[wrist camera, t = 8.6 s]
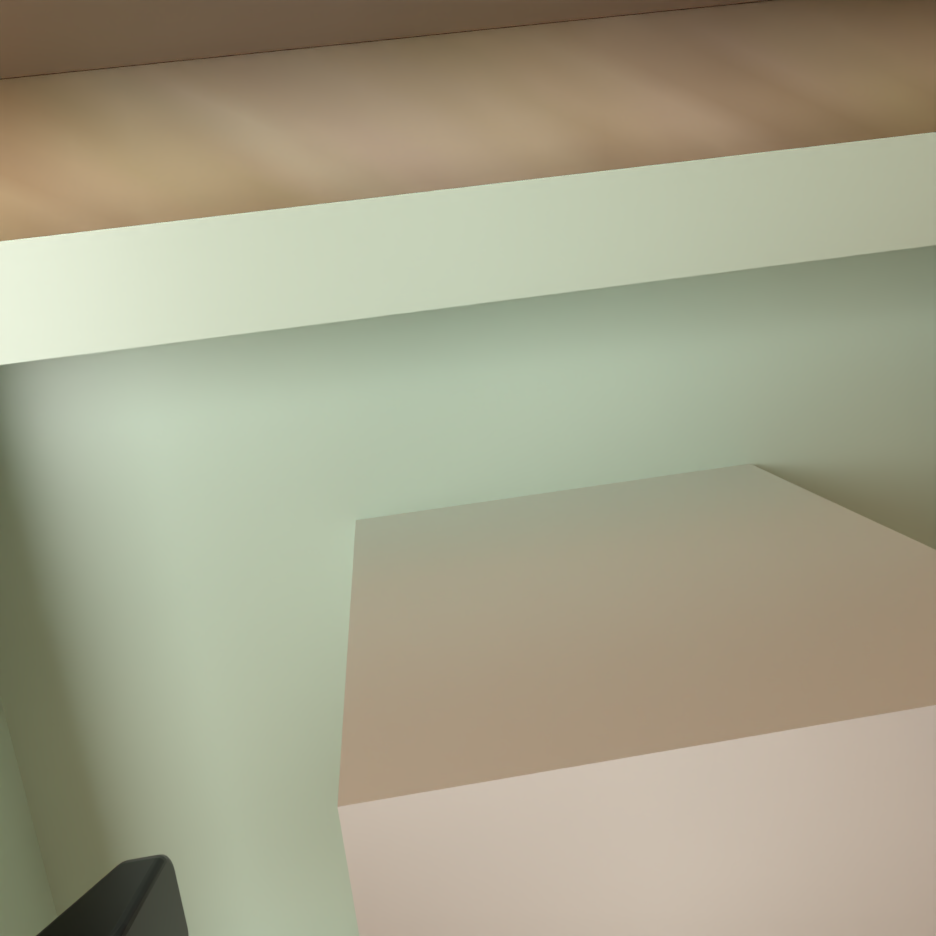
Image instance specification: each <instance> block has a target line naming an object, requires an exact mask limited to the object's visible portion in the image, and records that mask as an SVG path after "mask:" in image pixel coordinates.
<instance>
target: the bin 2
mask: <svg viewBox="0 0 936 936" xmlns="http://www.w3.org/2000/svg"><path fill="white" fill-rule="evenodd" d="M744 464H752V465H754V466H756V467H758V468H760V469H763V470H765V471H767V472H769V473H771V474H773V475H775V476H778V477H780V478H782V479H784V480H786V481H788V482H791V483H793V484H795V485H797V486H799V487H801V488H803V489H806V490H808V491H810V492H812V493H814V494H816V495H819V496H821V497H823V498H825V499H827V500H829V501H832V502H834V503H836V504H838V505H840V506H842V507H844V508H847V509H849V510H851V511H853V512H855V513H857V514H860V515H862V516H864V517H866V518H868V519H870V520H872V521H875V522H877V523H879V524H881V525H883V526H885V527H888V528H890V529H892V530H894V531H896V532H898V533H900V534H903V535H905V536H907V537H909V538H911V539H913V540H916V541H918V542H920V543H922V544H924V545H926V546H928V547H931V548H933V549H935V550H936V132H931V133H923V134H914V135H906V136H897V137H889V138H880V139H871V140H863V141H854V142H846V143H837V144H829V145H820V146H812V147H803V148H795V149H786V150H777V151H769V152H760V153H752V154H743V155H735V156H726V157H718V158H709V159H701V160H692V161H683V162H675V163H666V164H658V165H649V166H641V167H632V168H624V169H615V170H607V171H598V172H589V173H581V174H572V175H564V176H555V177H547V178H538V179H530V180H521V181H513V182H504V183H495V184H487V185H478V186H470V187H461V188H453V189H444V190H436V191H427V192H419V193H410V194H401V195H393V196H384V197H376V198H367V199H359V200H350V201H342V202H333V203H325V204H316V205H307V206H299V207H290V208H282V209H273V210H265V211H256V212H248V213H239V214H231V215H222V216H213V217H205V218H196V219H188V220H179V221H171V222H162V223H154V224H145V225H137V226H128V227H119V228H111V229H102V230H94V231H85V232H77V233H68V234H60V235H51V236H43V237H34V238H26V239H17V240H8V241H0V936H36V935H37V934H38V933H40V932H41V931H42V930H43V929H44V928H45V927H47V926H48V925H49V924H50V923H51V922H52V921H54V920H55V919H56V918H57V917H58V916H59V915H60V914H62V913H63V912H64V911H65V910H66V909H67V908H69V907H70V906H71V905H72V904H73V903H74V902H76V901H77V900H78V899H79V898H80V897H81V896H82V895H84V894H85V893H86V892H87V891H88V890H89V889H91V888H92V887H93V886H94V885H95V884H96V883H98V882H99V881H100V880H101V879H102V878H103V877H104V876H106V875H107V874H108V873H109V872H110V871H111V870H113V869H114V868H115V867H116V866H117V865H119V864H120V863H121V862H123V861H126V860H130V859H135V858H141V857H147V856H153V855H158V854H164V855H166V856H168V857H169V858H170V860H171V861H172V863H173V866H174V869H175V873H176V878H177V882H178V887H179V891H180V896H181V900H182V904H183V909H184V913H185V918H186V922H187V927H188V933H189V936H359V931H358V925H357V919H356V913H355V907H354V902H353V896H352V890H351V884H350V878H349V872H348V866H347V860H346V854H345V849H344V843H343V837H342V831H341V825H340V819H339V813H338V807H337V806H338V790H339V775H340V759H341V743H342V728H343V712H344V697H345V681H346V665H347V650H348V634H349V618H350V603H351V587H352V572H353V556H354V540H355V525H356V520H361V519H368V518H375V517H382V516H389V515H396V514H403V513H409V512H416V511H423V510H430V509H437V508H444V507H451V506H458V505H465V504H472V503H479V502H486V501H493V500H500V499H507V498H514V497H521V496H528V495H535V494H542V493H549V492H556V491H563V490H570V489H577V488H584V487H591V486H598V485H604V484H611V483H618V482H625V481H632V480H639V479H646V478H653V477H660V476H667V475H674V474H681V473H688V472H695V471H702V470H709V469H716V468H723V467H730V466H737V465H744Z"/></svg>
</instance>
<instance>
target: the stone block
mask: <svg viewBox="0 0 936 936" xmlns="http://www.w3.org/2000/svg"><path fill="white" fill-rule="evenodd" d="M337 807H338V813H339V819H340V825H341V831H342V837H343V843H344V849H345V854H346V860H347V866H348V872H349V878H350V884H351V890H352V896H353V902H354V907H355V913H356V919H357V925H358V931H359V936H936V550H935V549H933V548H931V547H928V546H926V545H924V544H922V543H920V542H918V541H916V540H913V539H911V538H909V537H907V536H905V535H903V534H900V533H898V532H896V531H894V530H892V529H890V528H888V527H885V526H883V525H881V524H879V523H877V522H875V521H872V520H870V519H868V518H866V517H864V516H862V515H860V514H857V513H855V512H853V511H851V510H849V509H847V508H844V507H842V506H840V505H838V504H836V503H834V502H832V501H829V500H827V499H825V498H823V497H821V496H819V495H816V494H814V493H812V492H810V491H808V490H806V489H803V488H801V487H799V486H797V485H795V484H793V483H791V482H788V481H786V480H784V479H782V478H780V477H778V476H775V475H773V474H771V473H769V472H767V471H765V470H763V469H760V468H758V467H756V466H754V465H752V464H744V465H737V466H730V467H723V468H716V469H709V470H702V471H695V472H688V473H681V474H674V475H667V476H660V477H653V478H646V479H639V480H632V481H625V482H618V483H611V484H604V485H598V486H591V487H584V488H577V489H570V490H563V491H556V492H549V493H542V494H535V495H528V496H521V497H514V498H507V499H500V500H493V501H486V502H479V503H472V504H465V505H458V506H451V507H444V508H437V509H430V510H423V511H416V512H409V513H403V514H396V515H389V516H382V517H375V518H368V519H361V520H356V525H355V540H354V556H353V572H352V587H351V603H350V618H349V634H348V650H347V665H346V681H345V697H344V712H343V728H342V743H341V759H340V775H339V790H338V806H337Z"/></svg>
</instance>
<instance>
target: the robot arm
mask: <svg viewBox="0 0 936 936" xmlns="http://www.w3.org/2000/svg"><path fill="white" fill-rule="evenodd" d="M36 936H189V933H188V927H187V922H186V918H185V913H184V909H183V904H182V900H181V896H180V891H179V887H178V882H177V878H176V873H175V869H174V866H173V863H172V861H171V860H170V858H169V857H168V856H166V855H164V854H158V855H153V856H147V857H141V858H135V859H130V860H126V861H123V862H121V863H120V864H119V865H117V866H116V867H115V868H114V869H113V870H111V871H110V872H109V873H108V874H107V875H106V876H104V877H103V878H102V879H101V880H100V881H99V882H98V883H96V884H95V885H94V886H93V887H92V888H91V889H89V890H88V891H87V892H86V893H85V894H84V895H82V896H81V897H80V898H79V899H78V900H77V901H76V902H74V903H73V904H72V905H71V906H70V907H69V908H67V909H66V910H65V911H64V912H63V913H62V914H60V915H59V916H58V917H57V918H56V919H55V920H54V921H52V922H51V923H50V924H49V925H48V926H47V927H45V928H44V929H43V930H42V931H41V932H40V933H38V934H37V935H36Z"/></svg>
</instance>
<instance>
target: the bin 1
mask: <svg viewBox="0 0 936 936" xmlns="http://www.w3.org/2000/svg"><path fill="white" fill-rule="evenodd" d="M756 1H766V0H0V79H3V78H13V77H23V76H32V75H42V74H52V73H62V72H71V71H81V70H91V69H101V68H111V67H120V66H130V65H140V64H150V63H159V62H169V61H179V60H189V59H199V58H208V57H218V56H228V55H238V54H247V53H257V52H267V51H277V50H287V49H296V48H306V47H316V46H326V45H335V44H345V43H355V42H365V41H375V40H384V39H394V38H404V37H414V36H423V35H433V34H443V33H453V32H463V31H472V30H482V29H492V28H502V27H511V26H521V25H531V24H541V23H551V22H560V21H570V20H580V19H590V18H600V17H609V16H619V15H629V14H639V13H648V12H658V11H668V10H678V9H688V8H697V7H707V6H717V5H727V4H736V3H746V2H756Z"/></svg>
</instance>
